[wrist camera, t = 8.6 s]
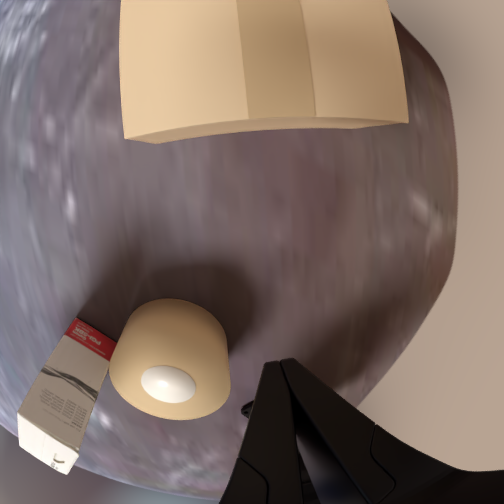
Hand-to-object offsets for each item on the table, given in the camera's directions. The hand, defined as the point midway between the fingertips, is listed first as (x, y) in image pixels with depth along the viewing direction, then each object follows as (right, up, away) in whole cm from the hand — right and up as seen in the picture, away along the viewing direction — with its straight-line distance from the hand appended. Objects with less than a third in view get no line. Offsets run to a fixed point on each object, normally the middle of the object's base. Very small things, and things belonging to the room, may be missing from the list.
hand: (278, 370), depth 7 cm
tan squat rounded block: (-7, -4, +15) cm, 17 cm away
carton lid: (0, +14, +2) cm, 14 cm away
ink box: (-17, -7, +14) cm, 23 cm away
